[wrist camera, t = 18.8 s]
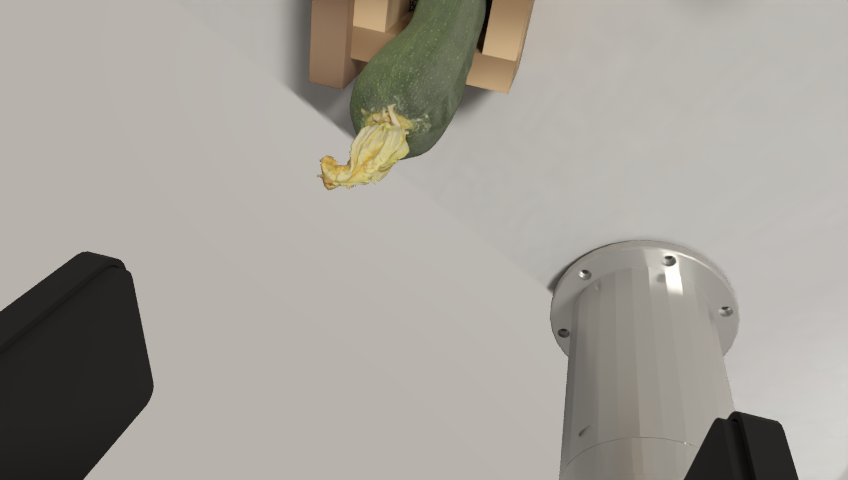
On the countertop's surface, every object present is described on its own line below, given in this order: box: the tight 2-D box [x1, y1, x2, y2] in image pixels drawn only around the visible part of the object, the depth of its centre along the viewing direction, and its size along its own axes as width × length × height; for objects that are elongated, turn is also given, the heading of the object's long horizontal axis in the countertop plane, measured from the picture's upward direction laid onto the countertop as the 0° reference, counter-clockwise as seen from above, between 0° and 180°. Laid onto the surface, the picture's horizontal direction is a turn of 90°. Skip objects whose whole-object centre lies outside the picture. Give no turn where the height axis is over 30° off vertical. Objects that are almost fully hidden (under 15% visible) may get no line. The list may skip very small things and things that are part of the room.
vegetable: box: [317, 0, 486, 190], centre depth 29 cm, size 4×4×20 cm
